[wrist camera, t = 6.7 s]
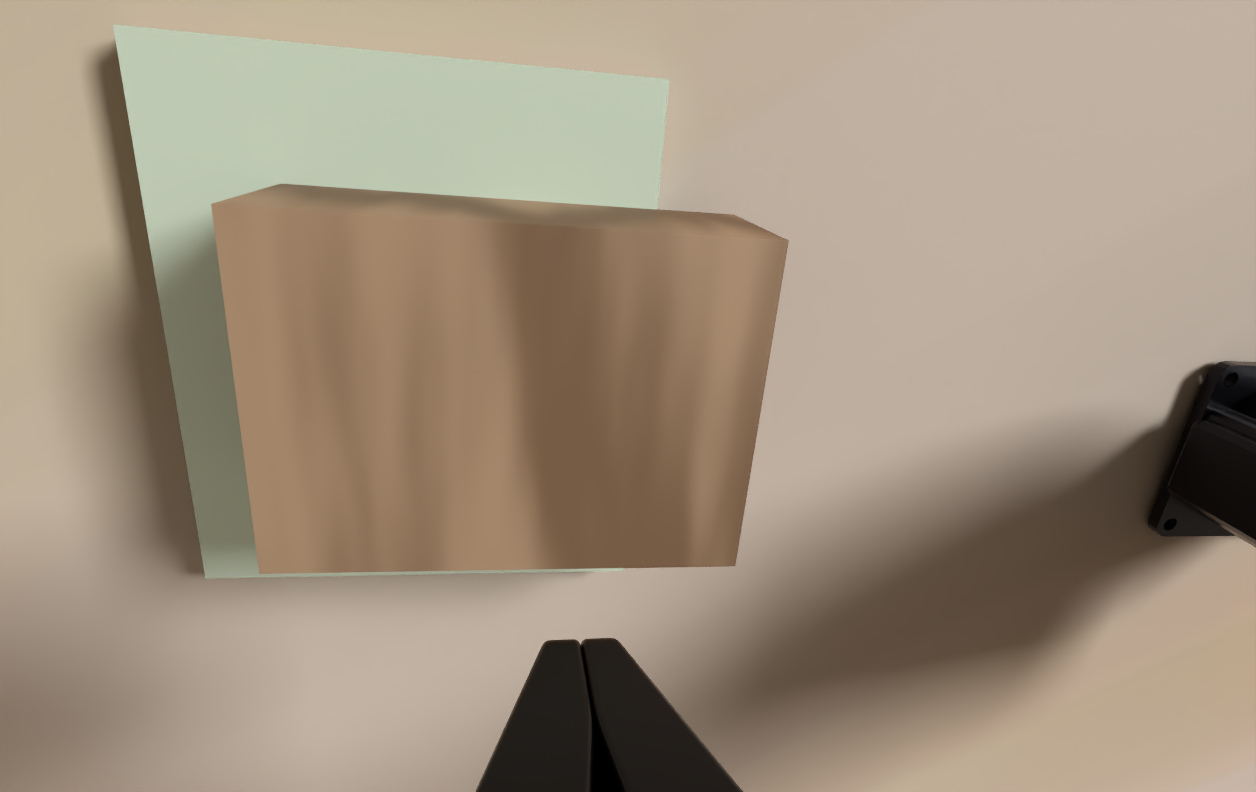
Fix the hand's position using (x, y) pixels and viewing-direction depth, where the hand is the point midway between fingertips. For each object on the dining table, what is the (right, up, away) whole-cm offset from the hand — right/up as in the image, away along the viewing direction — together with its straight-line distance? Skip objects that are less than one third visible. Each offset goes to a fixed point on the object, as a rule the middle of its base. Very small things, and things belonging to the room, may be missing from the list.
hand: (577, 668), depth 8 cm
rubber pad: (-5, +5, +11) cm, 13 cm away
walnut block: (+3, +3, +10) cm, 11 cm away
